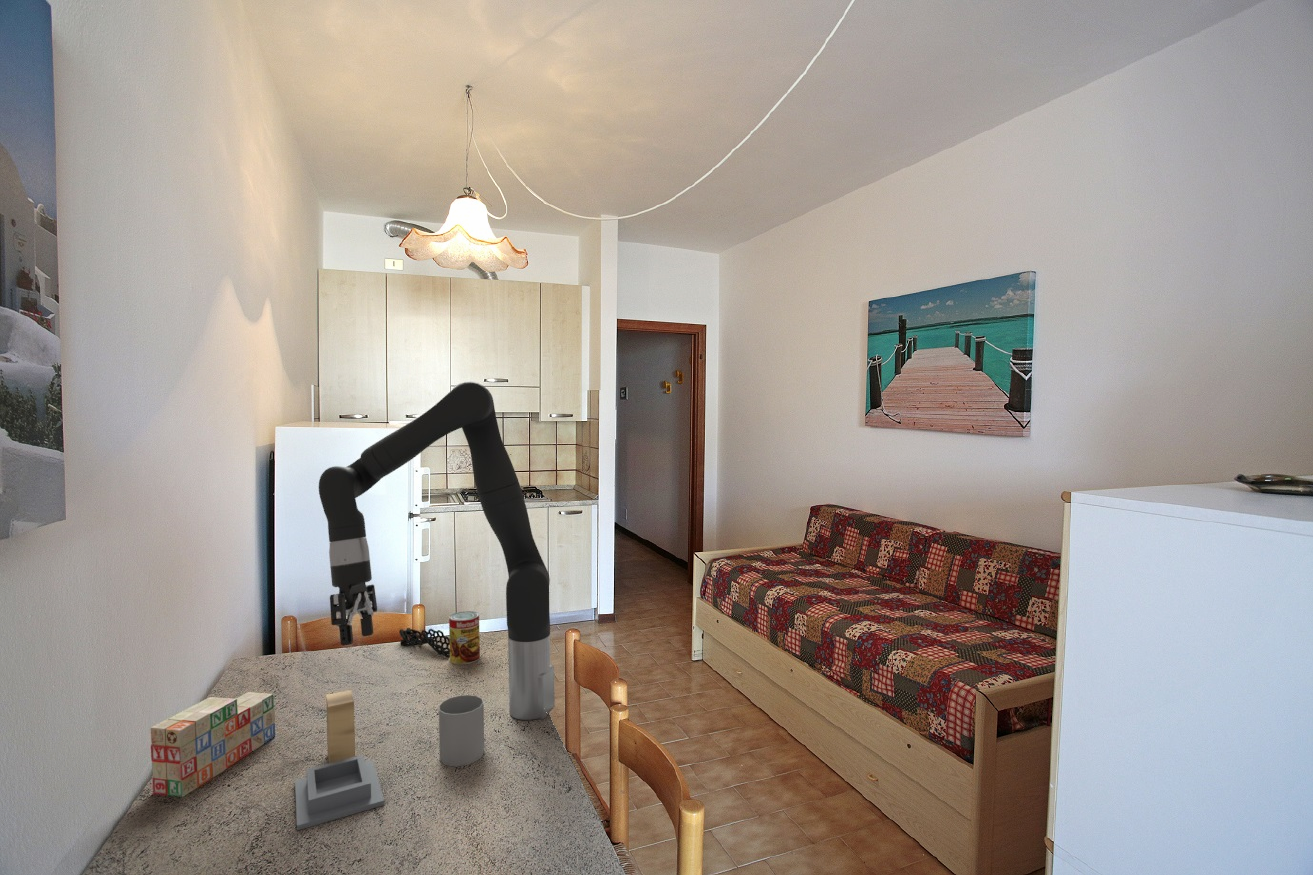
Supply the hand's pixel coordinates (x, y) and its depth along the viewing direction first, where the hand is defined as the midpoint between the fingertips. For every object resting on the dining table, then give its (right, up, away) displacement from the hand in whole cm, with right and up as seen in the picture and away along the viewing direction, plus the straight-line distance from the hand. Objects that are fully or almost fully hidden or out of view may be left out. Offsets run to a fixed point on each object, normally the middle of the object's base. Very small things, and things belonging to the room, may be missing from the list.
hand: (357, 639), depth 132 cm
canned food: (+10, -19, +42) cm, 47 cm away
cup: (+24, -20, -7) cm, 32 cm away
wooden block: (+1, -21, -8) cm, 22 cm away
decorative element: (-4, -19, +50) cm, 53 cm away
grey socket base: (+6, -21, -20) cm, 29 cm away
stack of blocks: (-22, -21, -9) cm, 32 cm away
